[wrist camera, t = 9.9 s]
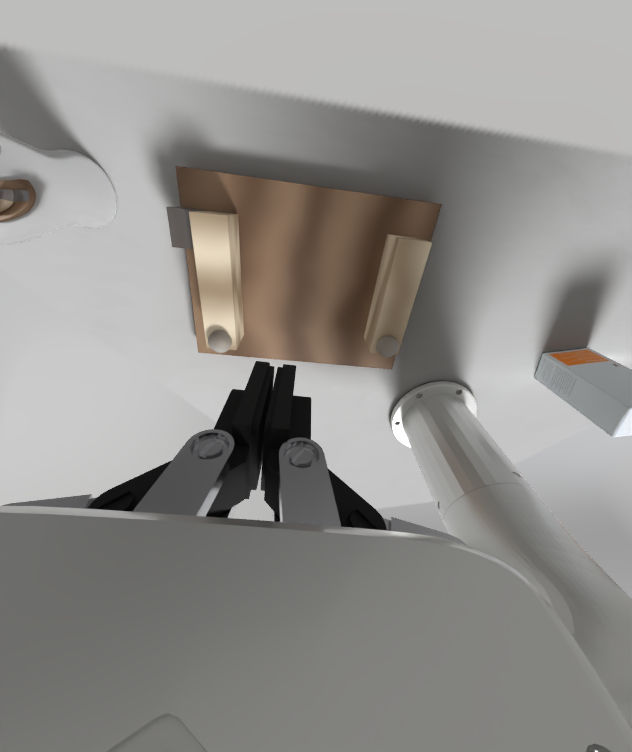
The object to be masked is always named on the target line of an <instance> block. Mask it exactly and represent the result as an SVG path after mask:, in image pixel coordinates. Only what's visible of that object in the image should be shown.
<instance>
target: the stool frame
mask: <svg viewBox="0 0 632 752" xmlns="http://www.w3.org/2000/svg"><path fill="white" fill-rule="evenodd" d="M176 173H177V181H178V189H179V198H180V206H181V207H167V214H168V221H169V228H170V235H171V242H172V247H179V248H186V255H187V263H188V272H189V280H190V288H191V296H192V304H193V313H194V321H195V329H196V337H197V346H198V352H199V353H210V354H222V355H233V356H245V357H256V358H268V359H279V360H291V361H302V362H314V363H325V364H337V365H348V366H360V367H371V368H383V369H392V367H393V364H394V360H395V357H396V355H398V353H399V350H400V346H401V343H402V340H403V337H404V333H405V330H406V327H407V324H408V320H409V317H410V314H411V311H412V307H413V304H414V301H415V298H416V294H417V291H418V288H419V285H420V281H421V278H422V275H423V272H424V268H425V265H426V262H427V259H428V255H429V252H430V249H431V245H432V242H431V238H432V235H433V232H434V228H435V225H436V222H437V219H438V215H439V212H440V209H441V205H442V204H437V203H430V202H423V201H416V200H409V199H402V198H395V197H388V196H381V195H374V194H367V193H360V192H353V191H346V190H339V189H332V188H325V187H318V186H311V185H304V184H298V183H291V182H284V181H277V180H270V179H263V178H256V177H249V176H242V175H235V174H228V173H221V172H214V171H207V170H200V169H193V168H186V167H179V166H176ZM189 211H213V212H222V213H232V214H238V225H239V245H240V264H241V284H242V304H243V323H244V336H243V338H242V340H241V342H240V344H239V346H238V348H237V350H228V351H226V352H223V353H219V352H216V351H214V350H212V349H211V348H207V346H206V339H205V331H204V323H203V316H202V308H201V301H200V293H199V286H198V278H197V270H196V263H195V255H194V248H193V240H192V232H191V225H190V217H189Z"/></svg>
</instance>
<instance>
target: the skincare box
mask: <svg viewBox="0 0 632 752" xmlns="http://www.w3.org/2000/svg"><path fill="white" fill-rule="evenodd" d="M535 379H536V380H538V381H539V382H540V383H542V384H543V385H544V386H546V387H547V388H548V389H550V390H551V391H552V392H554V393H555V394H556V395H557V396H559V397H560V398H561V399H563V400H564V401H565V402H567V403H568V404H569V405H571V406H572V407H573V408H575V409H576V410H577V411H579V412H580V413H581V414H583V415H584V416H585V417H587V418H588V419H589V420H591V421H592V422H593V423H594V424H596V425H597V426H598V427H600V428H601V429H603V430H604V431H605V432H606V433H608V434H609V435H610V436H612V437H619V436H628V435H632V370H631V369H629V368H627V367H625V366H623V365H621V364H619V363H617V362H615V361H613V360H611V359H609V358H607V357H605V356H603V355H601V354H599V353H597V352H595V351H593V350H591V349H590V348H583V349H575V350H568V351H559V352H549V353H543V354H542V357H541V360H540V363H539V366H538V369H537V371H536V374H535Z"/></svg>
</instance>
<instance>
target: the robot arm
mask: <svg viewBox="0 0 632 752" xmlns="http://www.w3.org/2000/svg"><path fill="white" fill-rule="evenodd" d="M295 372H296V366H294V365H285V364H283V368H282V367H278V369H277V374H276V378H275V382H274V387H273V378H274V367H273V366H270V363H268V362H260V361H256V363H255V365H254V368H253V370H252V373H251V375H250V378H249V381H248V383H247V386H246V388H245V390H236V389H233V390H232V391H231V393H230V395H229V397H228V399H227V401H226V404H225V406H224V408H223V410H222V412H221V414H220V417H219V419H218V421H217V423H216V425H215V428H214V429H212V430H205V431H202V432H199V433H197V434H195V435H194V436H192V437H191V438H190V439H189V440H188V441H187V442H186V444H185V445H184V446H183V447H182V449H181V450H180V451H179V453H178V454H177V455H176V456H175V458H174V459H173V460H172V461H170V462H168V463H165V464H163V465H161V466H159V467H157V468H155V469H153V470H150V471H148V472H146V473H144V474H142V475H140V476H138V477H135V478H133V479H131V480H129V481H127V482H125V483H122V484H121V485H118V486H116V487H114V488H112V489H110V490H108V491H106V492H105V493H103V494H101V495H100V496H99V497H97V498H93V497H92V495H91V494H90V495H81V496H73V497H64V498H56V499H46V500H38V501H29V502H20V503H11V504H7V505H2V506H0V752H632V599H631V598H630V597H629V596H628V595H627V594H626V593H625V592H624V591H623V590H622V589H621V588H620V587H619V586H618V585H617V584H616V583H615V582H614V581H613V580H612V579H611V578H610V577H609V576H608V575H607V574H606V573H605V572H604V570H603V569H602V568H601V567H600V566H599V565H598V564H597V563H596V562H595V561H594V560H593V559H592V558H591V557H590V555H589V554H588V553H587V552H586V551H584V549H583V548H582V547H581V546H580V545H579V544H578V542H577V541H576V540H575V539H574V538H573V537H572V535H571V534H570V533H569V532H568V531H567V530H566V529H565V527H564V526H563V525H562V524H561V523H560V521H559V520H558V519H557V518H556V517H555V515H554V514H553V513H552V512H551V511H550V509H549V508H548V507H547V506H546V505H545V503H544V502H543V501H542V500H541V498H540V497H539V496H538V495H537V493H536V492H535V491H534V490H533V489H532V488H531V486H530V485H529V484H528V482H527V481H526V480H525V479H524V477H523V476H522V475H521V474H520V472H519V471H518V470H517V469H516V467H515V466H514V465H513V464H512V462H511V461H510V460H509V459H508V457H507V456H506V455H505V454H504V452H503V451H502V450H501V449H500V447H499V446H498V445H497V444H496V442H495V441H494V440H493V439H492V437H491V436H490V435H489V434H488V432H487V431H486V430H485V429H484V427H483V426H482V425H481V424H480V422H479V421H478V420H477V419H476V415H477V403H476V399H475V398H474V396H473V395H472V394H471V393H470V392H469V390H468V389H467V388H465V387H463V386H462V385H460V384H457V383H454V382H448V381H437V382H432V383H427V384H424V385H421V386H419V387H417V388H415V389H413V390H411V391H410V392H408V393H407V394H406V395H405V396H403V397H402V398H401V399H400V400H399V402H398V403H397V404H396V406H395V407H394V409H393V411H392V415H391V427H392V431H393V433H394V435H395V437H396V438H397V439H398V440H399V441H400V442H401V443H402V444H404V445H406V446H408V447H411V449H412V451H413V453H414V456H415V458H416V460H417V463H418V465H419V467H420V470H421V472H422V474H423V476H424V479H425V481H426V483H427V486H428V488H429V490H430V493H431V495H432V497H433V500H434V502H435V504H436V506H437V509H438V511H439V513H440V516H441V518H442V520H443V522H444V525H445V527H446V529H447V532H448V534H446V533H443V532H439V531H436V530H433V529H430V528H426V527H423V526H420V525H416V524H413V523H410V522H406V521H403V520H399V519H396V518H393V517H391V519H390V520H387V519H384V518H382V516H381V515H380V514H379V513H378V512H377V511H376V509H374V508H373V507H372V506H371V505H370V504H369V503H367V502H366V501H365V500H364V499H363V498H362V497H360V496H359V495H358V494H357V493H356V492H355V491H353V490H352V489H351V488H350V487H349V486H348V485H346V484H345V483H344V482H343V481H342V480H341V479H339V478H338V477H337V476H336V475H335V474H334V473H332V472H331V471H330V470H329V469H328V468H327V464H326V460H325V456H324V452H323V450H322V448H321V447H320V446H319V445H318V444H317V443H316V442H314V441H313V440H311V397H301V396H293V390H294V381H295ZM261 465H262V477H261V490H264V491H265V497H264V500H265V501H266V503H267V504H268V505H269V506H270V507H271V508H272V509H273V521H260V520H246V519H232V517H233V515H234V512H235V508H236V505H237V504H238V503H240V502H241V501H243V500H244V499H249V496H250V491H251V490H256V488H257V485H258V479H259V475H260V470H261Z"/></svg>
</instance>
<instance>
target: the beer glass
mask: <svg viewBox="0 0 632 752" xmlns="http://www.w3.org/2000/svg"><path fill="white" fill-rule="evenodd" d="M116 212H117V197H116V193H115V190H114V187H113V185H112V183H111V181H110V179H109V178H108V176H107V175H106V173H105V172H104V171H103V170H102V169H101V168H100V166H98V165H97V164H96V163H95V162H94V161H93V160H91V159H90V158H88V157H87V156H85V155H83V154H81V153H79V152H76V151H72V150H51V151H47V150H42V149H39V148H36V147H34V146H31V145H29V144H27V143H25V142H22V141H20V140H18V139H16V138H14V137H11V136H9V135H7V134H5V133H2V132H0V246H5V245H11V244H17V243H22V242H25V241H29V240H32V239H35V238H38V237H41V236H44V235H46V234H49V233H51V232H54V231H56V230H58V229H61V228H64V227H66V226H73V225H74V226H80V227H86V228H101V227H104V226H106V225H108V224H109V223H111V222H112V220H113V219H114V217H115V215H116Z"/></svg>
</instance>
